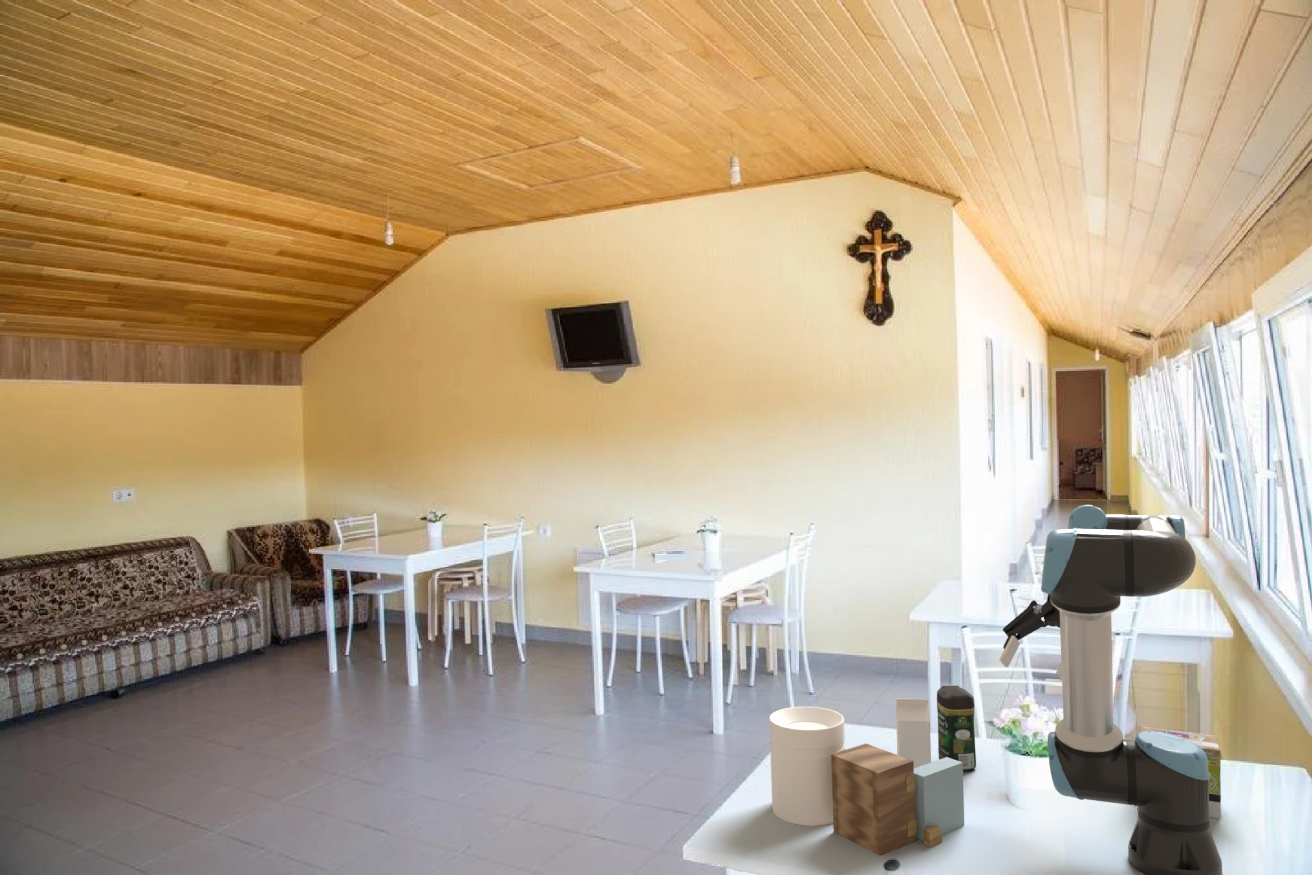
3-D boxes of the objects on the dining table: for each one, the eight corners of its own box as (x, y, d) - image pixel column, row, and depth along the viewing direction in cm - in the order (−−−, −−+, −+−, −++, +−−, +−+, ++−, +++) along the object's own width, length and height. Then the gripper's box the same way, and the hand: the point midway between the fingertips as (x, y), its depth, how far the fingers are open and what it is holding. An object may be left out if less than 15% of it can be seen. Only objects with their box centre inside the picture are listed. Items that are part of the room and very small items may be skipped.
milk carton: (931, 787, 210) (929, 703, 209) (899, 785, 211) (897, 703, 211) (929, 775, 217) (926, 694, 216) (897, 773, 218) (895, 693, 218)
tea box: (1138, 808, 195) (1137, 738, 195) (1139, 790, 204) (1137, 724, 204) (1222, 820, 188) (1220, 748, 188) (1218, 801, 197) (1217, 732, 197)
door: (964, 825, 190) (962, 762, 190) (925, 841, 183) (923, 776, 183) (948, 818, 193) (946, 756, 193) (909, 834, 187) (907, 770, 186)
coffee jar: (934, 758, 227) (932, 683, 227) (966, 757, 227) (964, 682, 227) (947, 773, 217) (944, 695, 217) (980, 772, 217) (978, 693, 217)
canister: (789, 789, 211) (786, 702, 211) (857, 802, 203) (854, 712, 202) (760, 816, 197) (757, 723, 197) (831, 831, 189) (828, 734, 189)
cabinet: (941, 842, 183) (939, 761, 182) (894, 862, 175) (892, 778, 175) (879, 814, 196) (877, 739, 196) (833, 831, 189) (831, 754, 189)
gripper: (1133, 609, 195) (1094, 693, 187) (1028, 593, 216) (989, 668, 208) (1118, 587, 192) (1078, 672, 184) (1013, 573, 213) (973, 648, 205)
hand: (1031, 670), depth 196 cm, fingers open, 13 cm apart
